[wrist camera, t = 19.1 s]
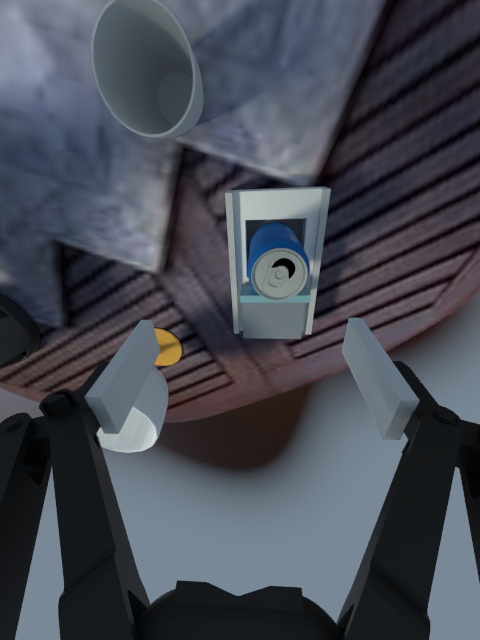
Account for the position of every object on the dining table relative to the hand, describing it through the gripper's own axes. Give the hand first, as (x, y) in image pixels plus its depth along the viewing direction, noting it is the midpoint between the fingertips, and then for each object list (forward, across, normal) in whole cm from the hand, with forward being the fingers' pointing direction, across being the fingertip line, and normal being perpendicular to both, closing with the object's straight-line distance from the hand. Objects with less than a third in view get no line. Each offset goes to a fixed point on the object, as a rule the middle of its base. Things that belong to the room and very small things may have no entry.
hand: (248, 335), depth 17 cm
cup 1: (+22, -8, +16) cm, 29 cm away
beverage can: (+22, +3, 0) cm, 22 cm away
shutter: (+19, +3, -9) cm, 21 cm away
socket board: (+22, +3, -3) cm, 22 cm away
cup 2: (+23, -18, -19) cm, 34 cm away
